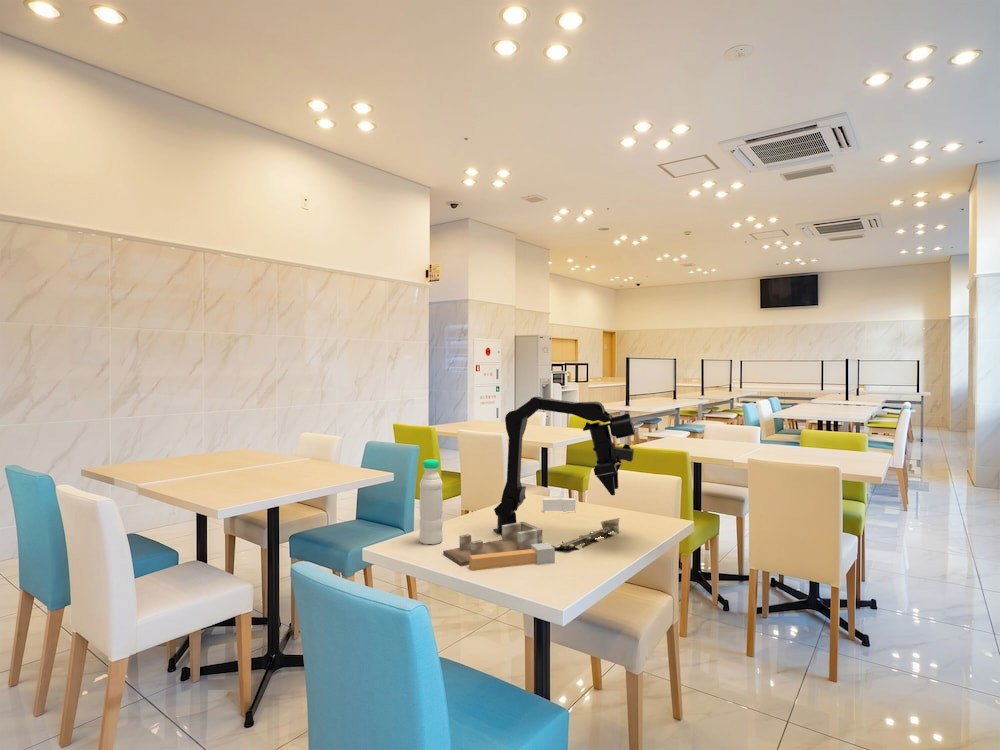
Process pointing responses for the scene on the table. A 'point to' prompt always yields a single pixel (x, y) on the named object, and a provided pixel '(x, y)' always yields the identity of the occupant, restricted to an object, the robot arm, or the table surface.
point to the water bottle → (431, 504)
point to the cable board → (497, 542)
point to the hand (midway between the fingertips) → (615, 491)
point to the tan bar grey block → (514, 557)
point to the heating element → (592, 535)
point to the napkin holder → (558, 504)
